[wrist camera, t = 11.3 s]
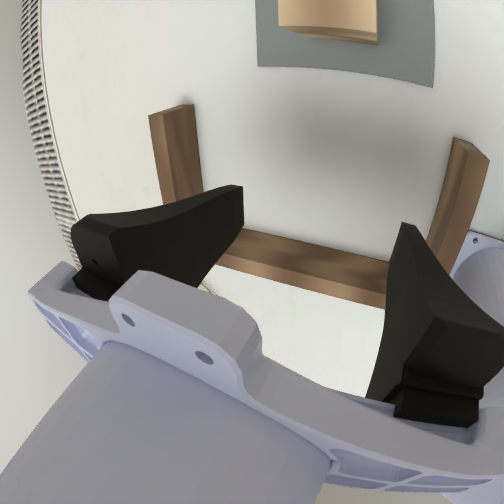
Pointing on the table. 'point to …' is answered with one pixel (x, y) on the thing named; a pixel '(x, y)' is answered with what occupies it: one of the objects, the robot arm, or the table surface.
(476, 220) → the table surface
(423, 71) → the slate mat
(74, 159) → the table surface
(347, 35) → the oak block
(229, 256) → the wooden u-shaped frame
